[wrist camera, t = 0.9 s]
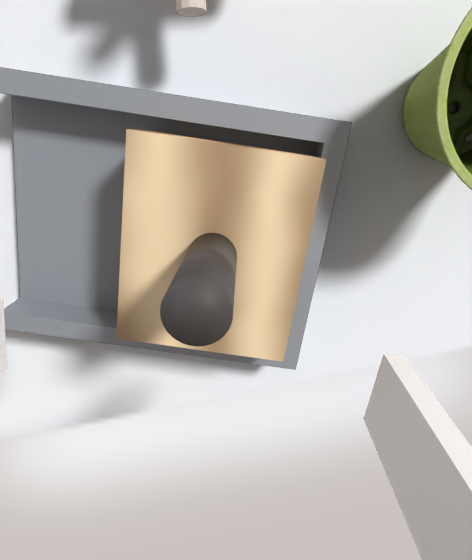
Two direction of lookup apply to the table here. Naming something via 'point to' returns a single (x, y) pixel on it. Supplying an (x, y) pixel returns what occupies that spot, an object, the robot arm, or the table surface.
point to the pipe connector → (190, 7)
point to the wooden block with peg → (213, 243)
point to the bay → (109, 195)
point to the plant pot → (444, 105)
